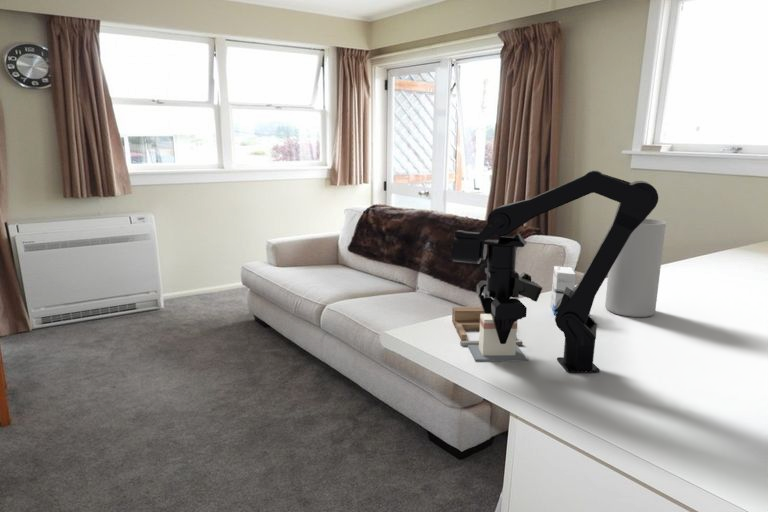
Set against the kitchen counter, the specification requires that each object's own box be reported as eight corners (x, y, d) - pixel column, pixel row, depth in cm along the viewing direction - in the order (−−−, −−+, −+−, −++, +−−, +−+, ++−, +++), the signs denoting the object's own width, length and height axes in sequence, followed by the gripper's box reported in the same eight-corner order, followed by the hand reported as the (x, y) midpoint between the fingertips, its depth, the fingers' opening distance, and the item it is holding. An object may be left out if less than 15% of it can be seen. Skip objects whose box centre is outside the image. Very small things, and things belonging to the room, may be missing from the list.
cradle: (522, 345, 115) (523, 328, 115) (461, 345, 115) (461, 329, 114) (503, 321, 132) (504, 306, 131) (449, 321, 131) (450, 306, 130)
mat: (527, 360, 107) (527, 358, 107) (475, 361, 107) (475, 359, 107) (516, 346, 115) (516, 344, 115) (468, 346, 115) (468, 344, 114)
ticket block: (515, 355, 109) (517, 319, 107) (482, 355, 109) (484, 319, 107) (510, 347, 113) (512, 313, 111) (478, 348, 113) (480, 313, 111)
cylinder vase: (653, 307, 143) (664, 219, 138) (656, 320, 132) (667, 225, 127) (605, 302, 148) (613, 216, 143) (604, 314, 137) (613, 222, 132)
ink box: (573, 316, 135) (576, 273, 133) (553, 315, 136) (556, 272, 134) (568, 307, 143) (571, 266, 141) (550, 306, 144) (553, 265, 142)
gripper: (555, 276, 98) (549, 352, 101) (526, 256, 116) (521, 321, 119) (497, 276, 98) (493, 353, 101) (477, 256, 116) (474, 321, 119)
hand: (497, 336), depth 110 cm, fingers open, 8 cm apart
